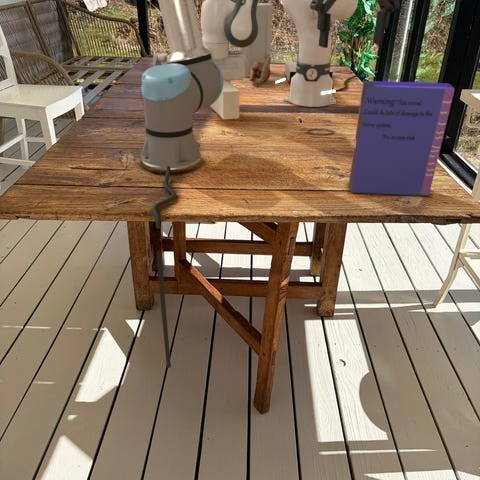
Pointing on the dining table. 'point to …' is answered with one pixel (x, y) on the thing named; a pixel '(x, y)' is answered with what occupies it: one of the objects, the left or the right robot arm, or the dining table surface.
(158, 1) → the left robot arm
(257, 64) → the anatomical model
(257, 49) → the white upright box
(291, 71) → the disc drive
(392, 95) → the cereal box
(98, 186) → the dining table surface
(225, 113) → the bar
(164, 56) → the toy
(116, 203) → the dining table surface
